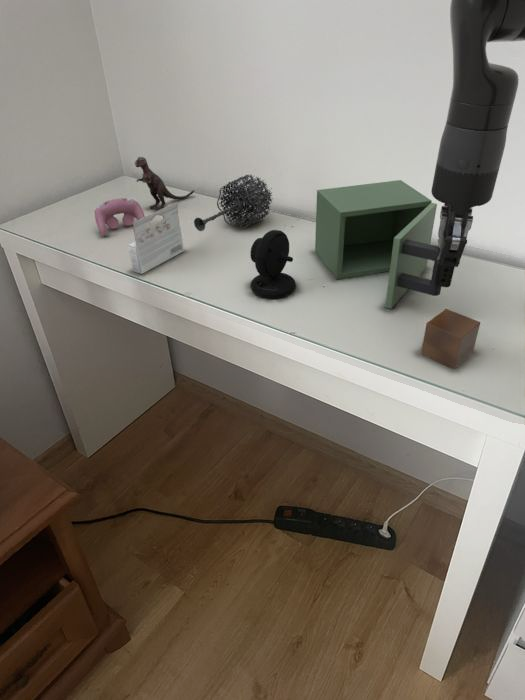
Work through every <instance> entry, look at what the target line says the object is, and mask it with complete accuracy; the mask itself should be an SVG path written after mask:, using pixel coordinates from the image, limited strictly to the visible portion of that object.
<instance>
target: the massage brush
mask: <svg viewBox="0 0 525 700" xmlns="http://www.w3.org/2000/svg"><path fill="white" fill-rule="evenodd" d="M261 178H262V177H258V176H256V177H255V175H252V174H245V175H244V176H241V177H238V178H236V179H234V180H232V181H228V183H226V184H225V185H223V186H222V187H221V188H220V189H219V196H218V198H217V201H216V206H217V208H218V210H219V211H218V212H217V214H214V215H212V216H209V217H207V218H204V219H202V218H201V217H195V218H194V220H193V224H194V227H195V229H196V230H197V231H198V232H203V231H204V230H205V229H206V225H207V223H209V222H211V221H214V220H216V219H217V218H219V217H221V216H222V217H223V220H224V222H225V223H226V224H227V225H229V226H233V227H235V228H237V229H239V230H241V229H244V228H247V227H250V226H251V225H253V224H255V223H257V222H259V221H261V220H263V219H264V218H266V217H267V216H268V215H270V210H271V207H272V205H271V204H273V200H274V198H273V197H272V196H273V192H272V191H271V190H272V189H273V188H272V187H270V189H269V186H268V184H267V182H264V180H261ZM219 201H220V202H219ZM221 208H222V209H221Z"/></svg>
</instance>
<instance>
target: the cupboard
mask: <svg viewBox="0 0 525 700" xmlns="http://www.w3.org/2000/svg"><path fill="white" fill-rule="evenodd" d="M431 203H433V201H432V199H430V198H429V197H427V196H426V195H424V194H423V193H421V192H419V191H418V190H417V189H415V188H414V187H412V186H410V185H409V184H407V183H406V182H404V181H403V180H401V179H398V180H390V181H381V182H373V183H372V182H371V183H365V184H357V185H356V184H355V185H348V186H340V187H338V186H337V187H331V188H324V189H317V190H316V207H315V208H316V212H315V236H314V237H315V240H314V241H315V242H314V253H315V255H316V256H317V258H318V259H319V260H320V261H321V263H323V264H324V266H325V267H326V268H327V270H328V271H329V272H330V273H331V274H332V276H333V277H334V278H335V279H336V280H341V279H349V278H353V277H361V276H368V275H373V274H379V273H387V272H390V266H391V258H392V250H393V242H394V237H395V236H397V235H398V234H399V233H400V232H401V231H402V230H403V229H404V228H405V227H406V226H407V225H408V224H409V223H410V222H411V221H412V220H414V219H415V218H416V217H417V216H418V215H419V214H420V213H421V212H422V211H423V210H424V209H425V208H426V207H427V206H428V205H429V204H431Z"/></svg>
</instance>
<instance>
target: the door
mask: <svg viewBox="0 0 525 700" xmlns="http://www.w3.org/2000/svg"><path fill="white" fill-rule="evenodd" d="M437 207H438V203H436V202H432V203H431V204H429V205H428V206H427V207H426V208H425V209H424V210H423V211H422V212H421V213H420V214H419V215H418V216H417V217H416V218H415V219H414V220H412V221H411V222H410V223H409V224H408V225H407V226H406V227H405V228H404V229H403V230H402V231H401V232H400V233H399V234H398V235H397V236H395V237H394V242H393V250H392V258H391V266H390V271H389V273H388V275H389V276H388V282H387V291H386V299H385V304H384V305H385V306H384V307H385V308H387V309H389V310H392V309H393V308H394V306H395V305H396V304H397V303H398V302H399V300H400V299H401V298H402V297H403V296H404V295H405V293H407V291H408V290H410V291H415V292H419V293H421V294H425V295H430V296H433V297H437V296H440V295H441V291H442V287H439V286H435V284H434V281H435V276H436V271H437V267H438V260H437V259H438V257H439V254H440V248H439V247H438V245H434V244H431V243H432V237H433V231H434V225H435V220H436V213H437ZM428 261H433V267H432V271H431V278H430V279H429V278H424V277H422V276H421V275H422V273H423V272H424V271H425V270H426V269H427V267H428Z"/></svg>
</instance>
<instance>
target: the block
mask: <svg viewBox="0 0 525 700" xmlns="http://www.w3.org/2000/svg"><path fill="white" fill-rule="evenodd" d="M480 327H481V321H480V320H476V319H474V318H471V317H468V316H466V315H464V314H461V313H458V312H455V311H453V310H451V309H449V308H445V309H443V310H442V311H441V312H439V313H438V314H437V315H435V316H434V317H433V318H432V319H430V320H429V321H427V322H426V324H425V329H424V333H423V334H424V335H423V339H422V345H421V351H420V355H422V356H425V357H426V358H429V359H431V360H433V361H436V362H438V363H440V364H442V365H444V366H446V367H449V368H451V369H452V370H455V369H456V368H458V367H459V366H460V365H461V364H462V363H463V362H464V361H465V360H466V359H468V358H469V357H470V356H471V355H472V354H474V350H475V347H476V342H477V339H478V336H479V335H478V334H479V330H480Z"/></svg>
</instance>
